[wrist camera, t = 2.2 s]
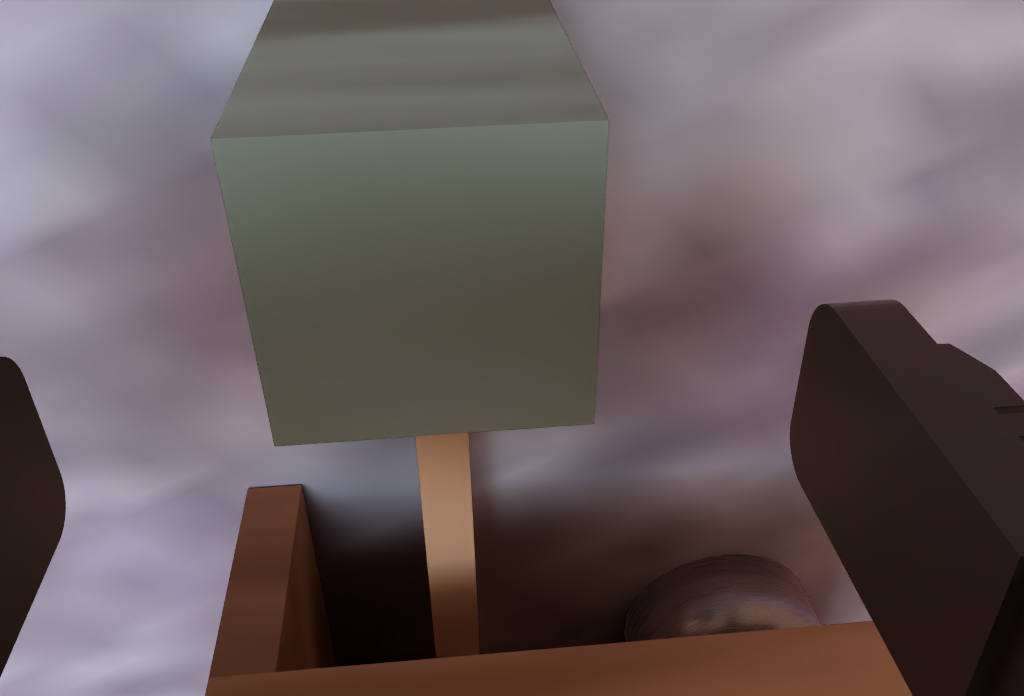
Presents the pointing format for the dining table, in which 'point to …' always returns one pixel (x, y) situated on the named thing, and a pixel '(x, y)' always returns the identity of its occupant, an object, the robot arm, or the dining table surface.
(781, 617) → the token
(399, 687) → the bread box
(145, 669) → the dining table surface
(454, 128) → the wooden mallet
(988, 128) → the dining table surface
